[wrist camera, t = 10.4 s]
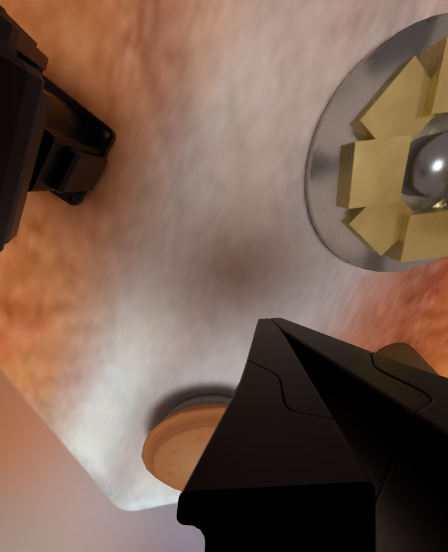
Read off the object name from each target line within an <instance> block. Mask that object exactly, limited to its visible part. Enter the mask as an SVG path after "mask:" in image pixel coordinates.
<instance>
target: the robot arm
mask: <svg viewBox="0 0 448 552" xmlns="http://www.w3.org/2000/svg"><path fill="white" fill-rule="evenodd" d="M36 46H37V43H36V42H35V41H34V40H33V39H32V38H31V37H30V36H29V35H28V34H27V33H26V32H25V31H24V30H23V29H22V28H21V27H20V26H19V25H18V24H17V23H16V22H15V21H14V20H13V19H12V18H11V17H10V16H9V15H8V14H7V13H6V11H5V9H4V8H3V7H2V6H0V252H1V251H2V250H3V249H4V245H5V244H6V243H8V242H9V241H10V240H12V239H13V238H14V237H15V236H16V235H17V231H18V227H19V223H20V219H21V216H22V212H23V208H24V204H25V201H26V197H27V193H28V192H33V191H50V192H52V193H53V194H55V195H56V196H58V197H59V198H61V199H63V200H64V201H66V202H67V203H69V204H71V205H78V204H80V203H81V202H82V200H83V198H84V196H85V194H86V192H87V191H89V190H92V189H93V188H94V186H95V184H96V182H97V180H98V178H99V177H100V175H101V173H102V171H103V169H104V167H105V166H106V164H107V161H106V158H105V157H106V155H107V153H108V151H109V150H110V148H111V146H112V144H113V142H114V140H115V133H114V131H113V130H112V129H111V128H110V127H109V126H107V125H106V124H105V123H103V122H102V121H101V120H100V119H98V118H97V117H96V116H95V115H93V114H92V113H91V112H90V111H88V110H87V109H86V108H84V107H83V106H82V105H81V104H79V103H78V102H77V101H76V100H74V99H73V98H72V97H71V96H69V95H68V94H67V93H66V92H64V91H63V90H62V89H60V88H59V87H58V86H57V85H55V84H54V83H53V82H52V81H50V80H49V79H48V78H47V77H45V76H44V75H43V74H42V72H43V70H45V71H46V67H47V63H48V58H47V57H46V56H45V55H44V54H43V53H42V52H41V51H40V50H39V49H38V48H37V47H36ZM106 131H108V132H109V134H110V136H109V138H106V137H105V135H104V134H105V132H106ZM72 196H74V197H75V198H76V201H73V200H72ZM177 520H178V522H179V523H181V524H182V525H192V526H195V527H196V528H198V529H200V530H201V532H202V533H203V535H204V537H205V552H448V378H446V377H443V376H440V375H437V374H434V373H431V372H428V371H425V370H422V369H419V368H416V367H413V366H410V365H407V364H405V363H402V362H399V361H396V360H393V359H391V358H388V357H385V356H382V355H380V354H377V353H374V352H372V353H371V352H370V351H368V350H365V349H362V348H360V347H357V346H354V345H352V344H349V343H347V342H344V341H341V340H339V339H336V338H333V337H331V336H328V335H325V334H323V333H320V332H317V331H315V330H312V329H309V328H307V327H304V326H301V325H299V324H296V323H293V322H291V321H288V320H285V319H283V318H271V319H268V318H267V319H259V320H258V322H257V326H256V330H255V333H254V337H253V340H252V344H251V347H250V351H249V355H248V358H247V362H246V364H245V368H244V371H243V374H242V377H241V380H240V382H239V384H238V386H237V388H236V390H235V393H234V395H233V396H232V398H231V400H230V402H229V404H228V406H227V408H226V410H225V411H224V413H223V415H222V417H221V419H220V421H219V423H218V425H217V426H216V428H215V430H214V432H213V434H212V436H211V438H210V440H209V441H208V443H207V445H206V447H205V449H204V451H203V453H202V455H201V456H200V458H199V460H198V462H197V464H196V466H195V468H194V470H193V471H192V473H191V475H190V477H189V479H188V481H187V483H186V485H185V486H184V488H183V490H182V492H181V494H180V496H179V499H178V508H177Z"/></svg>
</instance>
